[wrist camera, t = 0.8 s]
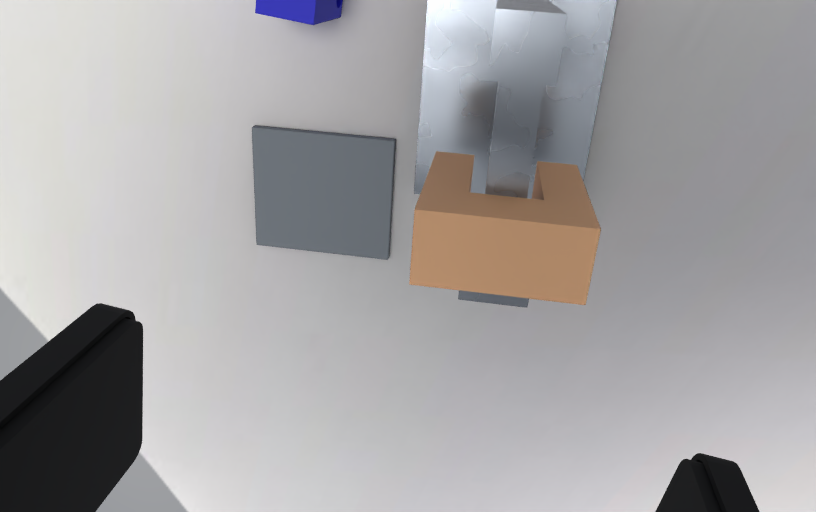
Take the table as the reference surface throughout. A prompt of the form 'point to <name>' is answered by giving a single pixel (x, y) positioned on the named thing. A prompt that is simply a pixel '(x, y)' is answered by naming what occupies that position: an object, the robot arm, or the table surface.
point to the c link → (505, 234)
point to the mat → (323, 191)
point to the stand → (511, 91)
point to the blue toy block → (301, 10)
